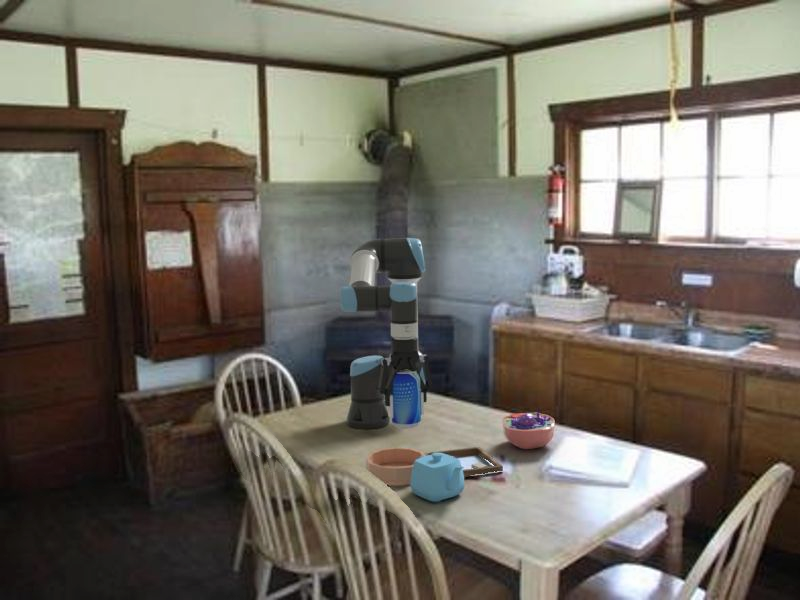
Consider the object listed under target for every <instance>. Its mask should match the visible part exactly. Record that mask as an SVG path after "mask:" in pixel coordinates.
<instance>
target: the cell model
mask: <svg viewBox="0 0 800 600" xmlns="http://www.w3.org/2000/svg"><path fill="white" fill-rule="evenodd" d="M501 422H502V435H503V436H504V437H505V439H506V440H507V441H508V442H509V443H511V444H512V445H514V446H515V447H518V448H520V449H521V450H522V449H523V450H532V449H534V450H535V449H537V448H543V447H544V446H546V445H548V444H549V443H550V442H551V441H552V440H553V436H554V433H555V428H556V421H555V419H554V418H553V417H552V416H550V415H549V414H544V413H540V412H539V411H535V412H523V413H522V412H521V413H512V414H508V415H505V416H503V417H502V418H501Z"/></svg>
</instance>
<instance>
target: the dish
mask: <svg viewBox="0 0 800 600" xmlns="http://www.w3.org/2000/svg"><path fill="white" fill-rule="evenodd" d="M424 453H425V452H424V451H421V450H418V449H415V448H411V447H410V448H407V447H397V446H396V447H388V448H381V449H378V450H376V451H372V452H370V453H369V454H368V455H367V456H366V458H365V470H366V469H367V470H368V471H369V472H371V473H372V474H373V475H375V476H376V477H377V478H379V479H380V480H381V481H383V482H384V483H385V484H387V485H389V486H388V487H404V486H411V473H412V469H413V465H414V461H415V460H417V459H418V458H419V457H420V456H423V455H425V454H424ZM425 456H426V455H425Z"/></svg>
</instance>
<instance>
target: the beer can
mask: <svg viewBox="0 0 800 600" xmlns="http://www.w3.org/2000/svg"><path fill="white" fill-rule="evenodd" d="M391 394H392V395H393V418H390V419H391V422H392V424H393V425H394V427H396V428H398V429H399V428H400V429H412V428H413V429H414V428H416V427H418V426H419V423H420V422H422V415H421V396H420V377H419V375H418V373H417V372H416V371H412V370H407V369H406V370H402V371H400V372H397V374H396V376H395V377H394V379H393V389H392V391H391Z"/></svg>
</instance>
